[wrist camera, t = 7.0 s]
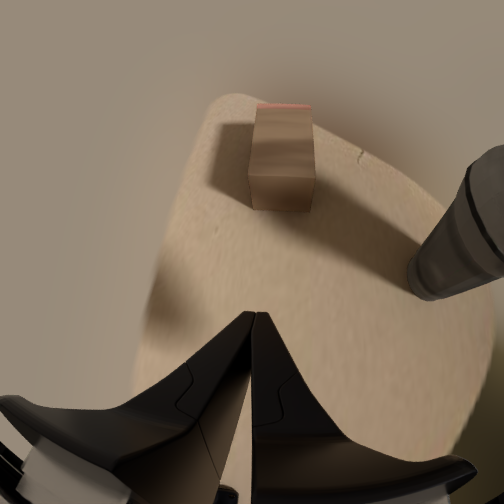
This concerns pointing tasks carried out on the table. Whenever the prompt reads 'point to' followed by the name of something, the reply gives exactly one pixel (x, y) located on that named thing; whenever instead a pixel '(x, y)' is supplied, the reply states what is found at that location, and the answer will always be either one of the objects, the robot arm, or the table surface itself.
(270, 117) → the wooden block
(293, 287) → the table surface
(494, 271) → the beverage cup
